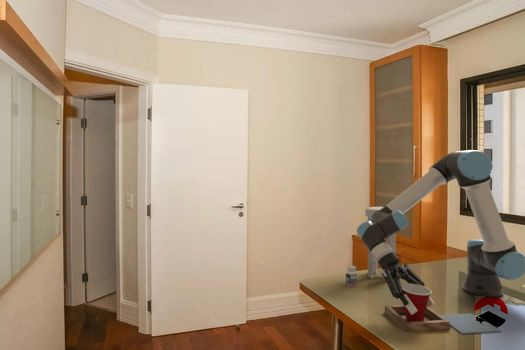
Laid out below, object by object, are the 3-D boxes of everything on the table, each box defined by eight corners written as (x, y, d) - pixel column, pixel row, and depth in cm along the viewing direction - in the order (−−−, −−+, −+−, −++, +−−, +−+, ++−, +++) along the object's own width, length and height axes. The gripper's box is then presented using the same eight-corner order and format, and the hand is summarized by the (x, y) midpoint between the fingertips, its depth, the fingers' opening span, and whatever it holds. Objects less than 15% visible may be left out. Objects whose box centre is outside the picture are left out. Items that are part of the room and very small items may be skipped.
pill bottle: (344, 283, 169) (344, 265, 169) (354, 283, 169) (354, 264, 169) (348, 287, 164) (347, 268, 163) (358, 286, 164) (358, 267, 164)
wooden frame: (424, 310, 136) (424, 303, 136) (450, 328, 120) (450, 321, 120) (384, 312, 135) (384, 305, 135) (405, 331, 119) (405, 324, 119)
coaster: (472, 314, 131) (472, 313, 131) (501, 331, 118) (501, 330, 117) (437, 316, 130) (437, 315, 130) (461, 334, 116) (461, 332, 116)
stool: (370, 270, 190) (370, 206, 189) (400, 274, 182) (400, 207, 181) (362, 278, 176) (362, 209, 176) (395, 283, 168) (394, 210, 168)
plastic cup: (435, 328, 121) (435, 293, 121) (402, 325, 123) (402, 291, 123) (427, 314, 132) (427, 283, 131) (397, 312, 134) (397, 281, 133)
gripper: (396, 257, 146) (433, 306, 134) (360, 266, 133) (397, 322, 121) (408, 247, 142) (447, 296, 129) (372, 255, 129) (412, 311, 116)
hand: (423, 309), depth 125 cm, fingers closed on plastic cup, 10 cm apart
